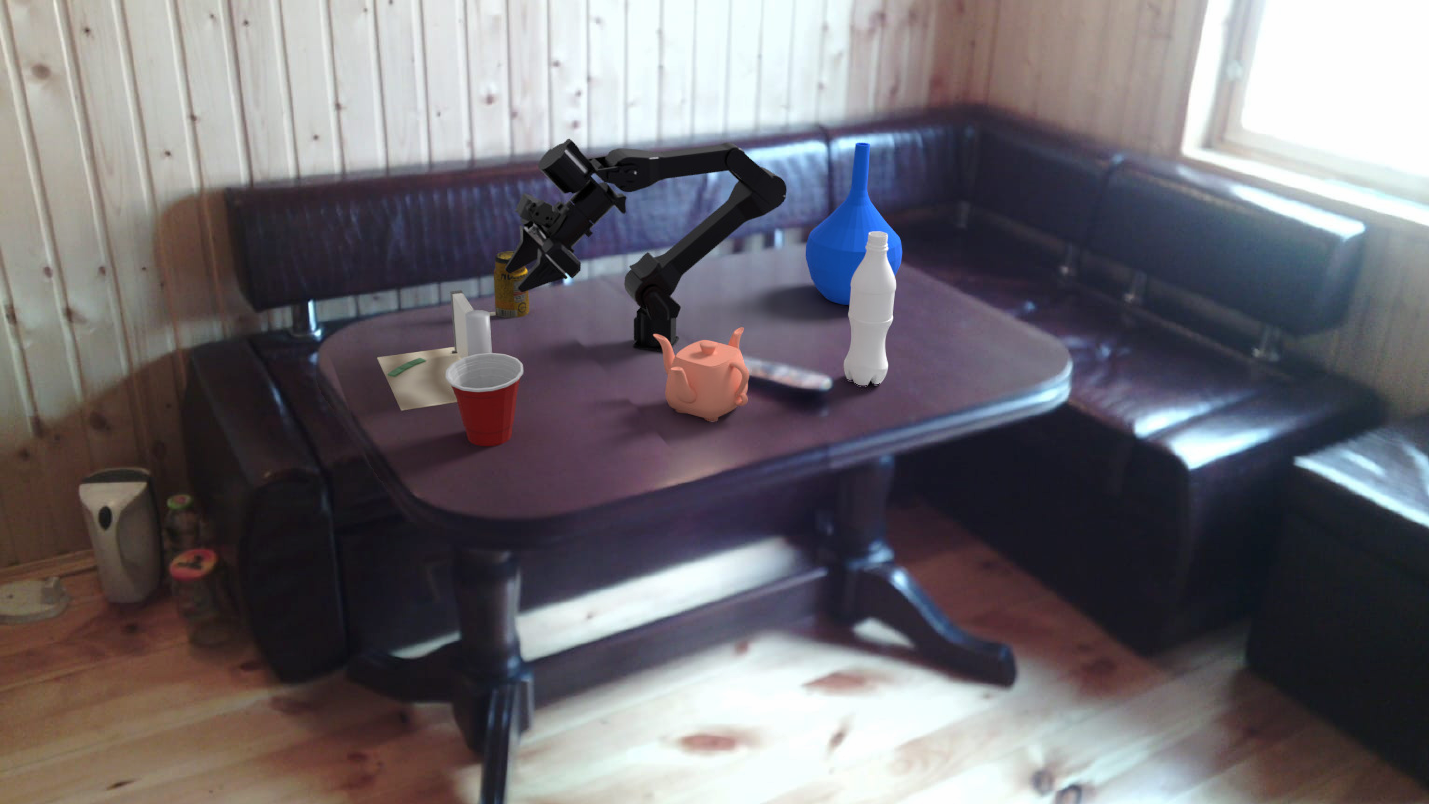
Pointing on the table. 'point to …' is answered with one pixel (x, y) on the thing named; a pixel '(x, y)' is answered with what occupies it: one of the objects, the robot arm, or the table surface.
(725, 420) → the table surface
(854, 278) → the water bottle
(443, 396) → the board
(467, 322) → the white panel grey edge
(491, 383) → the plastic cup
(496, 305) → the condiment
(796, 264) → the table surface
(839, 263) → the vase
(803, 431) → the table surface
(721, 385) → the teapot
